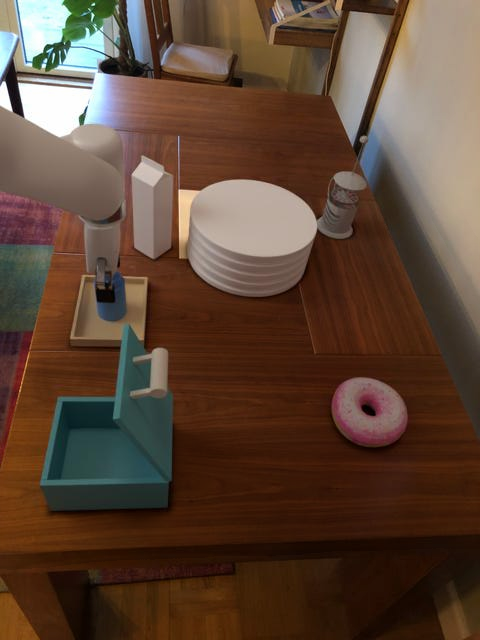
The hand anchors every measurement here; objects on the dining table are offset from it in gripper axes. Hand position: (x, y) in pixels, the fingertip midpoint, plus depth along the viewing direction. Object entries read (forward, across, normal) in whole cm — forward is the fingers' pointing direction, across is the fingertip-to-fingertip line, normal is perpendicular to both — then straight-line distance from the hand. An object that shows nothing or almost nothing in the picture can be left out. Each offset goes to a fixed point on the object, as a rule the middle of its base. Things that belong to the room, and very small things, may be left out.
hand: (109, 283), depth 89 cm
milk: (+8, -21, +7) cm, 23 cm away
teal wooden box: (+8, +32, +4) cm, 33 cm away
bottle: (+8, 0, 0) cm, 8 cm away
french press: (+8, -34, +53) cm, 64 cm away
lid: (-9, +32, +8) cm, 34 cm away
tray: (+8, 0, 0) cm, 8 cm away
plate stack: (+8, -20, +29) cm, 36 cm away
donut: (+8, +24, +47) cm, 53 cm away
